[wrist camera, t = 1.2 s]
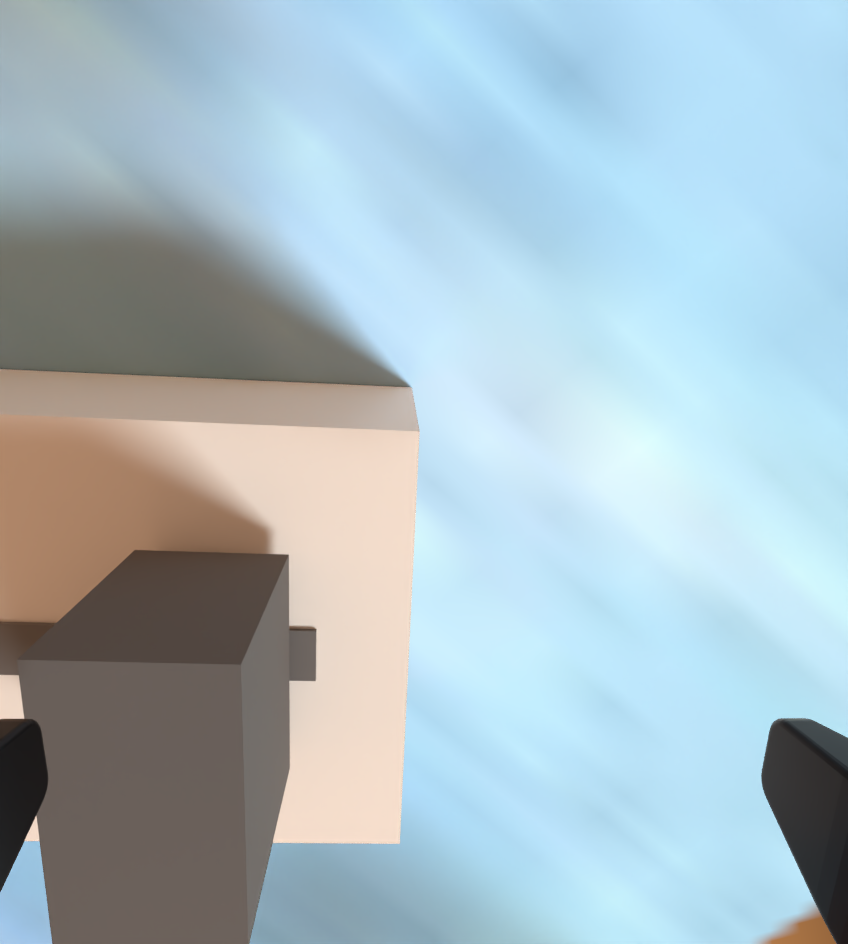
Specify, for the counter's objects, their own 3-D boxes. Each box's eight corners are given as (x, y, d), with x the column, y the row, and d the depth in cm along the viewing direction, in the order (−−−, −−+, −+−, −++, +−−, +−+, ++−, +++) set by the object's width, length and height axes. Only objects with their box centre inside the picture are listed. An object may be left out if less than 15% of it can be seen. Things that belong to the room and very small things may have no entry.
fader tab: (291, 759, 14) (248, 946, 10) (154, 758, 14) (52, 946, 10) (290, 549, 13) (240, 664, 9) (139, 545, 13) (15, 659, 9)
